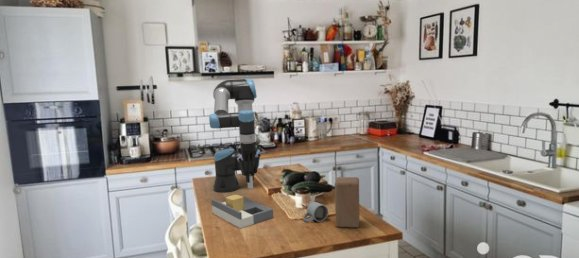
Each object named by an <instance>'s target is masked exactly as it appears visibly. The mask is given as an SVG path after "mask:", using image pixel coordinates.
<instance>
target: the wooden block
mask: <svg viewBox="0 0 579 258" xmlns="http://www.w3.org/2000/svg"><path fill="white" fill-rule="evenodd" d="M334 204H335V205H334V206H335V207H334V208H335V210H334V211H335V212H334V213H335V226H336V227H338V228H359V227H360V179H359V177H358V176H354V177H353V176H352V177H351V176H338V177H336V180H335V182H334Z"/></svg>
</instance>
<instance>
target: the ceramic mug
mask: <svg viewBox="0 0 579 258" xmlns="http://www.w3.org/2000/svg"><path fill="white" fill-rule="evenodd" d="M306 207H307V208H306V213H305V214H304V215H303V217H302V219H303V221H304V222H305V223H309V222H312V221H316V222H318V223H319V222H320V223H321V222H323V221H325V220H326V219H327V217H328V216H329V209H328V207H327V206H326V204H325V205H324V204H323V203H319V202H317V201H314V202H312V203H310V204H309V205H308V206H306ZM307 217H309V218H307Z"/></svg>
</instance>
